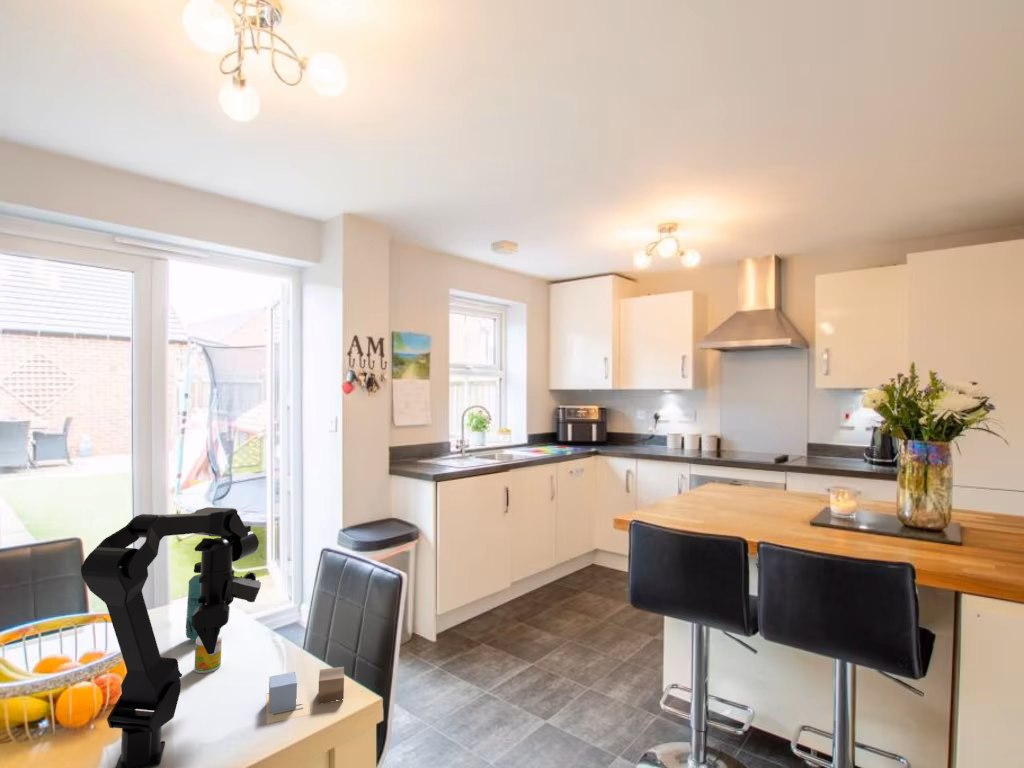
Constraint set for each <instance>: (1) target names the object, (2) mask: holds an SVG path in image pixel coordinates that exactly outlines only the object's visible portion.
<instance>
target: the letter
mask: <svg viewBox="0 0 1024 768" xmlns="http://www.w3.org/2000/svg"><path fill="white" fill-rule="evenodd" d="M297 700H298V699H297ZM305 702H306V701H305ZM305 702H304V703H305ZM296 703H297V702H296ZM299 703H300V702H298V703H297V704H296V708H293V709H288V710H284V711H279V712H275V713H270V714H269V692H267V693H265V712H266V714H265V715H266V724H273V723H277V722H281V721H282V722H283V721H286V720H287V721H288V720H291V719H295V718H299V717H304V716H308V715H309V716H310V715H311V709H310V704H308V705H309V706H308V705H307V704H304V703H303V704H299ZM301 703H302V702H301ZM301 705H302V706H301ZM304 705H305V706H304ZM306 705H307V706H306ZM308 710H309V711H308Z"/></svg>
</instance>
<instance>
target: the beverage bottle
mask: <svg viewBox="0 0 1024 768" xmlns="http://www.w3.org/2000/svg"><path fill="white" fill-rule="evenodd" d="M193 566H194V568H193V572H194V573H195V574H196V575H194V576H192V577H191V578H190V579H189V580H188V589H187V602H186V603H187V605H186V606H187V608H186V614H185V616H186V617H185V618H186V619H185V620H186V622H185V636H186V638H187V639H190V640H196V639H197V637H198V634H197V632H196V630H195V629H194V628H193V627H192V616H193V613H194V611H195V610H196V609H197V608H198V607H199V606H200V605H202V603H199V604H198V598H199V596H200V583H199V577H200V575H201V561H199V562H197V563H195V564H194V565H193Z"/></svg>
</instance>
